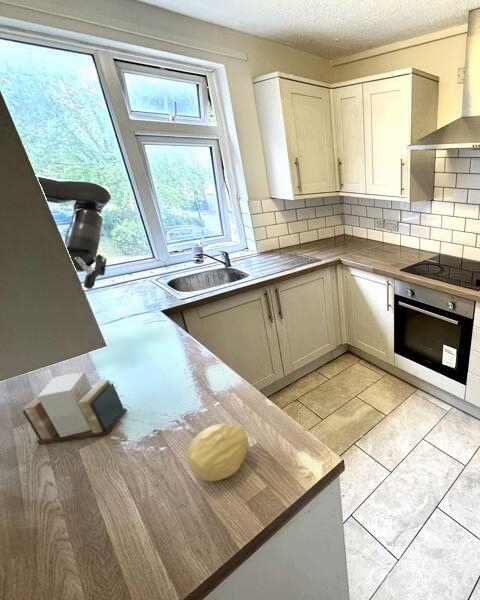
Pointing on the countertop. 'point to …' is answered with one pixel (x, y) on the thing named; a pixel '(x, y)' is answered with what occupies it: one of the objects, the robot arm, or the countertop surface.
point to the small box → (66, 403)
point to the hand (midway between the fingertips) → (71, 288)
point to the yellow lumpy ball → (218, 451)
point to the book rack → (95, 405)
